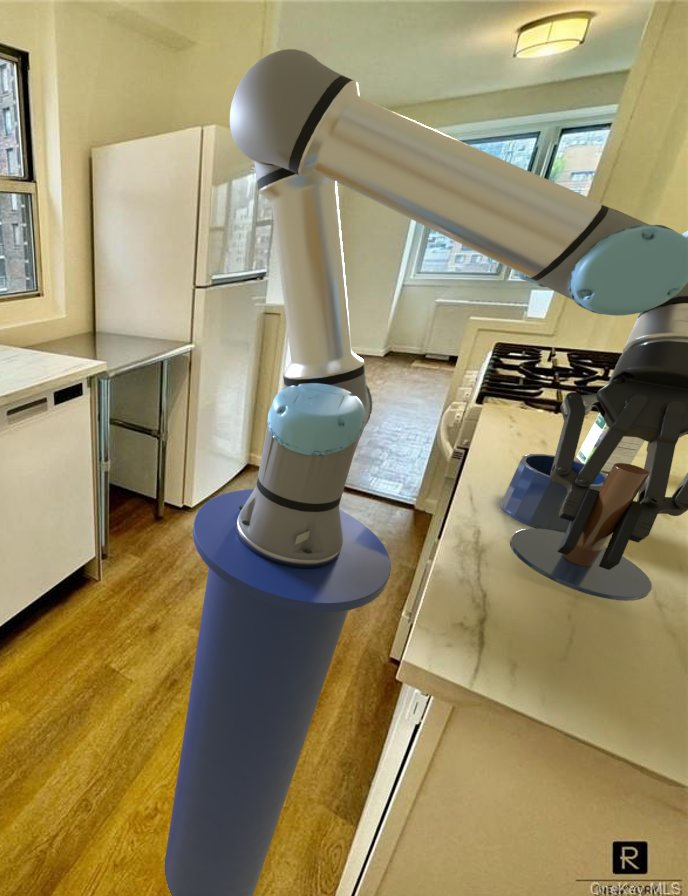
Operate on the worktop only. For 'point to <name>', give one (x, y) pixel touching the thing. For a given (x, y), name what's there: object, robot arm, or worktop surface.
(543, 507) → the pot
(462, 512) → the worktop surface
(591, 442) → the syrup box
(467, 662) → the worktop surface
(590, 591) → the lid
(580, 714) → the worktop surface
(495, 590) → the worktop surface
